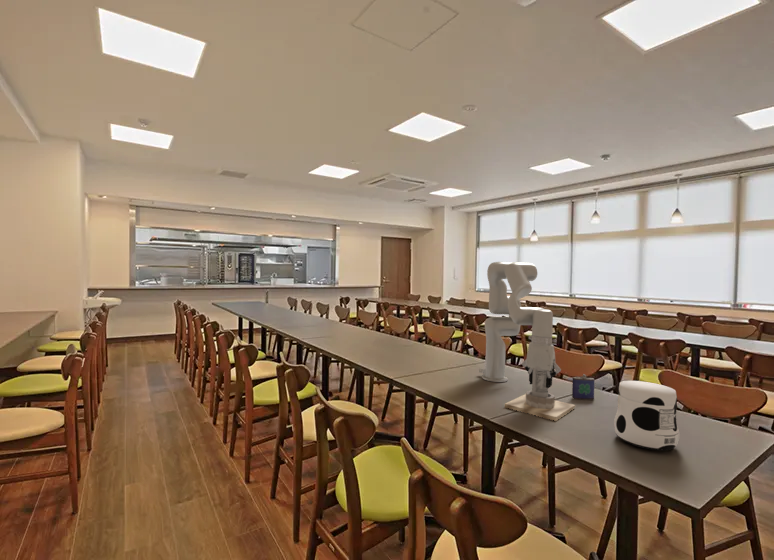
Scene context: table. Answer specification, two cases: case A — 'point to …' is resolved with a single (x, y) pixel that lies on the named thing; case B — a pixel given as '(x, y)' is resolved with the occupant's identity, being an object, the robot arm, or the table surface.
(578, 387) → the flask
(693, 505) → the table surface
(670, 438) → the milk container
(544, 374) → the energy drink can
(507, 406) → the collar board
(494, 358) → the robot arm
